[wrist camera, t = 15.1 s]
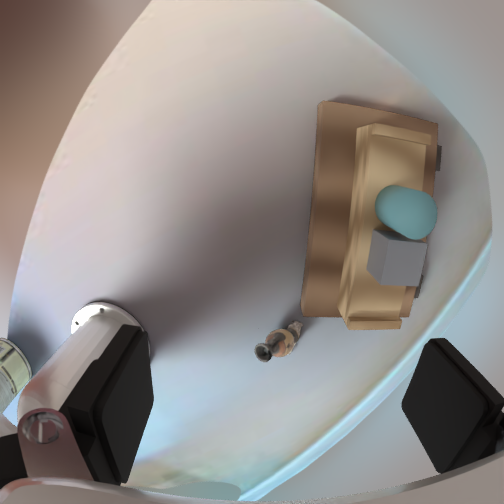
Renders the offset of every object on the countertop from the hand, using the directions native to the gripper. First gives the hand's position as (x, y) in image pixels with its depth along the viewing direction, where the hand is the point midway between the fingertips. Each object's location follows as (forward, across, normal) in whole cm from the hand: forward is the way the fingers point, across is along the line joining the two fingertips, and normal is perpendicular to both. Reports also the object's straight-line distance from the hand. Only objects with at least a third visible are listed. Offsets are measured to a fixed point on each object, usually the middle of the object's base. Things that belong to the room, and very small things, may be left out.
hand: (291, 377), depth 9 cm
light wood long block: (+24, -12, -2) cm, 27 cm away
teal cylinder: (+19, -12, -4) cm, 23 cm away
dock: (+27, -13, -3) cm, 30 cm away
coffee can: (+30, +44, +29) cm, 61 cm away
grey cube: (+19, -12, 0) cm, 23 cm away
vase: (+28, -4, +14) cm, 31 cm away
